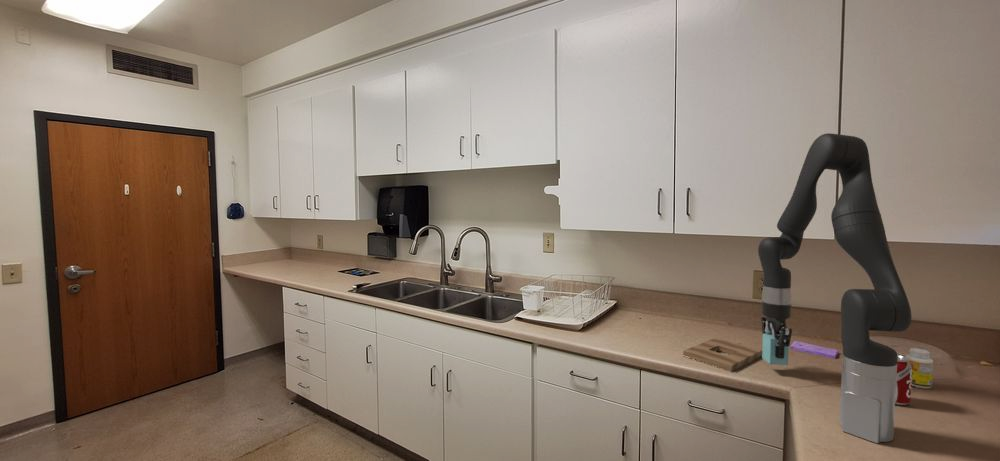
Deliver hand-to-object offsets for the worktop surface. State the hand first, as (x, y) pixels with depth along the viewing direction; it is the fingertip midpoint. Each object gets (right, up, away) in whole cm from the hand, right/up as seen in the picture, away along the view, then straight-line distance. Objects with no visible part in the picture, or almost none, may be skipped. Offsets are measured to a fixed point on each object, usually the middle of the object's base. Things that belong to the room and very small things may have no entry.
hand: (774, 354), depth 125 cm
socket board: (-9, -5, +14) cm, 17 cm away
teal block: (0, -2, 0) cm, 2 cm away
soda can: (+19, -7, -18) cm, 27 cm away
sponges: (+26, -5, +17) cm, 31 cm away
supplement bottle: (+35, -6, -10) cm, 36 cm away
